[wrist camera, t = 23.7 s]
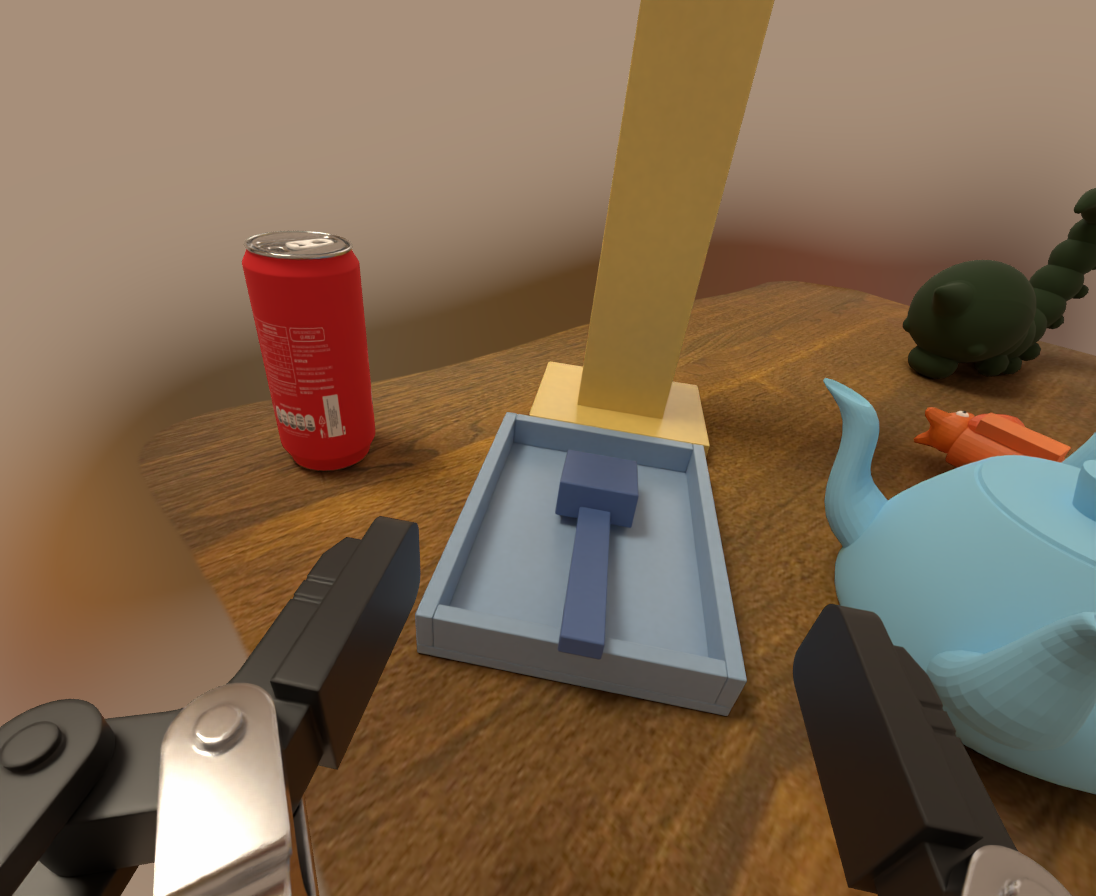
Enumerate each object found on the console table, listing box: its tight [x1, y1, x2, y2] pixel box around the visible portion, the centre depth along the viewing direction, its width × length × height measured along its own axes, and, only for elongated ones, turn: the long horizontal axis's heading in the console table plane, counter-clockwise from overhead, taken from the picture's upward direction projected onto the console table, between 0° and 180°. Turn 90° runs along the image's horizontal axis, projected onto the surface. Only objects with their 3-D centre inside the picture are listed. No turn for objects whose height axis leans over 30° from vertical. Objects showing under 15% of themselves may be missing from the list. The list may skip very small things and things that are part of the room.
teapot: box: [824, 378, 1096, 794], centre depth 21 cm, size 15×15×10 cm
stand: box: [529, 0, 774, 457], centre depth 30 cm, size 14×10×32 cm
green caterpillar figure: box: [903, 188, 1096, 379], centre depth 50 cm, size 9×19×25 cm
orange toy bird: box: [914, 407, 1071, 468], centre depth 33 cm, size 5×8×12 cm
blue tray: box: [415, 412, 747, 716], centre depth 26 cm, size 12×16×2 cm
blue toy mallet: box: [555, 450, 639, 660], centre depth 24 cm, size 4×13×2 cm, turn 171°
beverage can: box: [242, 231, 375, 471], centre depth 28 cm, size 5×5×12 cm
